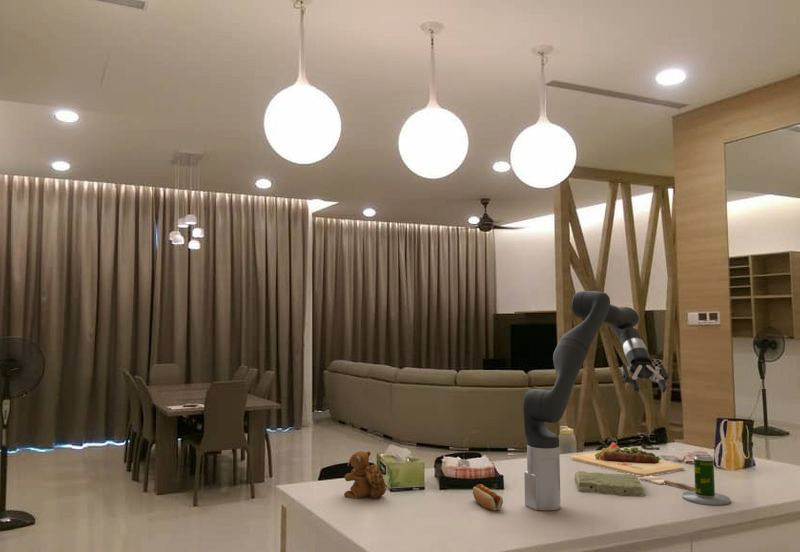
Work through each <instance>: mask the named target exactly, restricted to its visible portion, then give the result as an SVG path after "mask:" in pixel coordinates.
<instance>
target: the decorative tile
mask: <svg viewBox="0 0 800 552" xmlns="http://www.w3.org/2000/svg"><path fill="white" fill-rule="evenodd" d="M574 481H575V485H576V488H577V491H578V492H580V493H581V492H582V493H597V492H599V493H598V494H608V493H609V495H617V494H621V495H620V496H635V495H644V496H645V492H644V487H643V485H642V484H641V480H640V478H639V476H636V475H631V474H627V473H613V472H612V473H607V472H605V473H603V472H589V471H583V470H581V471H576V472H575V473H574Z"/></svg>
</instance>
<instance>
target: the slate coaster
mask: <svg viewBox="0 0 800 552" xmlns="http://www.w3.org/2000/svg"><path fill="white" fill-rule="evenodd" d="M681 496H682V499H683V500H685V501H687V502H690V503H694V504H699V505H707V506H726V505H729V504H730V503H731V498H730V497H729V496H727V495H726V494H725V495H724V494H722V493H717V492H715V496H714V498H701V497H698V496H696V494H695V491H691V490H687V491H684V492H682V493H681Z"/></svg>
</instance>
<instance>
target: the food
mask: <svg viewBox="0 0 800 552" xmlns="http://www.w3.org/2000/svg"><path fill="white" fill-rule="evenodd" d="M472 495H473V498H474V501H476V502H477V503H478V504H479V505H481V506H482V507H484V508H486V509H488V510H491V511H500V509H502V507H503V503H504V498H503V497H502V496H501V495H499V494H498V493H496V492H495V491H493V490H492V489H490V488H489V487H487V486H485V485H484V484H481V483H480V484H479V483H478V484H476V485H475V486H473V488H472Z"/></svg>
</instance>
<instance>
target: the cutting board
mask: <svg viewBox="0 0 800 552" xmlns="http://www.w3.org/2000/svg"><path fill="white" fill-rule="evenodd" d="M570 459H571V460H572V461H575V462H579V463H584V464H587V465H591V466H596V467H599V466H600V467H599V468H603V467H605V468H604V469H607V468H608V470H611V469H613V470H612V471H615V470H617V471H616V472H619V471H621V472H620V473H623V472H625V473H624V474H627V473H630V474H629V475H631V474H634V475H640V476H639V477H641V476H650V475H654V474H660V475H662V474H661V473H665V474H668V473H667V472H671V473H674V472H673V471H677V472H680V470H682V471H684V470H685V467H684V466H682V465H680V464H677V463H673V462H668V461H664V460H662V459H661V457H660V456H659V455H657V456H656V454H654V453H653V452H648V451H643V450H642V449H639V448H638V447H637V446H631V447H630V449H629V448H628V447H627V446H626V447H625V446H624V447H623V449H621V448H620V446H618V445H617V444H616V443H615V442H611V444H610V445H609V446H608V447H603V448H601V450H600V451H595V452H590V453H589V452H588V453H583V454H576V455H575V454H574V455H571V456H570ZM654 476H655V475H654Z"/></svg>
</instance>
